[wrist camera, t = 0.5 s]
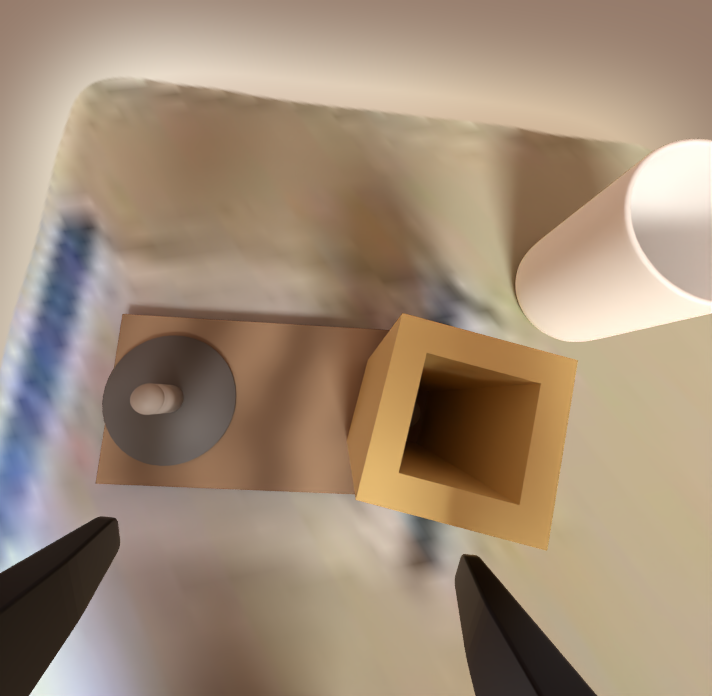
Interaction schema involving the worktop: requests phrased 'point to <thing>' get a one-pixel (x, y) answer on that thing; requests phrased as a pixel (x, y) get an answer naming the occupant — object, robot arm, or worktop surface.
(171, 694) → the worktop surface
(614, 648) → the worktop surface
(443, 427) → the sleeve
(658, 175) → the mug
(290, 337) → the board
